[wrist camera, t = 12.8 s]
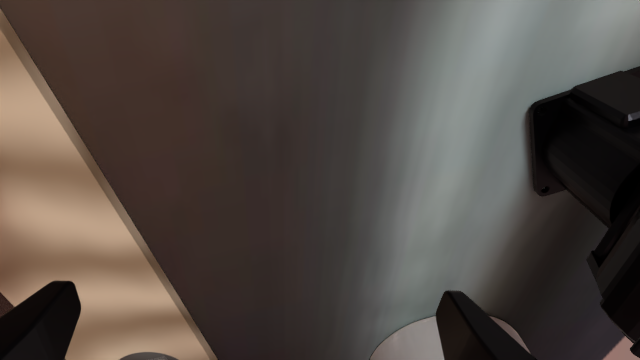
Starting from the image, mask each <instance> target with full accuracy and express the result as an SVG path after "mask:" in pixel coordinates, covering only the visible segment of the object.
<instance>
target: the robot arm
mask: <svg viewBox="0 0 640 360" xmlns="http://www.w3.org/2000/svg"><path fill="white" fill-rule="evenodd" d="M542 107H543V109H542V111H541V112H539V113H538V110H539V109H540V108H542ZM529 118H530V134H531V151H532V168H533V184H534V191H535V192H536V193H537V194H538V195H539V196H547V195H550V194H553V193H557V192H560V191H563V190H567V191H568V192H569V193H571V194H572V195H573V196H574V197H575V198H576V199H577V200H578V201H579V202H580V203H581V204H583V205H584V206H585V207H586V208H587V209H588V210H589V211H590V212H591V213H592V214H594V215H595V216H596V217H597V218H598V219H599V220H600V221H601V222H602V223H603V224H604V225H606V226H607V227H608V228H609V229H608V231H607V232H606V234H605V235H604V237H603V238H602V240H601V242H600V243H599V245H598V246H597V248H596V249H595V251H591V253H590V254H589V256H588V257H587V259H586V260H587V262H588V265H589V267H590V269H591V271H592V273H593V276H594V278H595V280H596V282H597V285H598V288H599V291H600V294H601V296H602V298H603V299H602V300H601V301H600V305H601V307H602V309H603V311H604V312H605V313H606V314H607V316H608V317H609V318H610V320H611V321H612V322H613V323H614V324H615V325H616V326H617V327H618V328H619V329H620V330H621V331H622V333H623V334H624V335H625V336H626V337H627V338H628V339H629V340H630V341H631V342H632V343H634V344H633V346H632V347H631V348H630V351H631V352H632V353H633V354H634V355H635V356H637V357H639V358H640V66H639V67H636V68H633V69H630V70H627V71H624V72H623V71H618V72H616V73H613V74H610V75H607V76H604V77H601V78H598V79H595V80H592V81H589V82H586V83H583V84H580V85H577V86H575V87H573V88H572V89H571V90H568V91H565V92H562V93H559V94H556V95H554V96H551V97H548V98H545V99H542V100H539V101H537V102H535V103H533V104H532V105H531V107H530V110H529ZM545 186H546V187H545ZM543 187H545V188H544V189H542V188H543ZM80 313H81V303H80V299H79V296H78V293H77V289H76V286H75V284H74V283H73V282H72V281H61V280H55V281H52V282H50V283H48V284H47V285H45V286H44V287H43V288H41V289H40V290H38V291H37V292H35V293H34V294H33V295H31V296H30V297H28V298H27V299H25V300H24V301H22V302H21V303H20V304H18V305H17V306H15V307H14V308H12V309H11V310H10V311H8V312H7V313H5V314H4V315H2V316H1V317H0V360H64V359H65V356H66V354H67V351H68V348H69V345H70V342H71V339H72V336H73V334H74V331H75V328H76V325H77V322H78V319H79V317H80ZM436 322H437V327H438V332H439V337H440V341H441V346H442V351H443V356H444V360H537V359H536V358H535V357H533V356H532V355H531V354H530V353H529V352H528V351H527V350H526V349H525V348H524V347H522V346H521V345H520V344H519V343H518V342H517V341H516V340H515V339H514V338H513V337H511V336H510V335H509V334H508V333H507V332H506V331H505V330H504V329H503V328H502V327H501V326H499V325H498V324H497V323H496V322H495V321H494V320H493V319H492V318H491V317H490V316H488V315H487V314H486V313H485V312H484V311H483V310H482V309H481V308H480V307H479V306H477V305H476V304H475V303H474V302H473V301H472V300H471V299H470V298H469V297H468V296H466V295H465V294H464V293H463V292H461V291H445V292H444V294H443V296H442V298H441V301H440V303H439V306H438V308H437V311H436Z"/></svg>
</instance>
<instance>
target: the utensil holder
mask: <svg viewBox="0 0 640 360" xmlns="http://www.w3.org/2000/svg"><path fill="white" fill-rule="evenodd" d="M490 317H491V316H490ZM491 318H492V319H493V320H494V321H495V322H496V323H497V324H498V325H499V326H501V327H502V328H503V329H504V330H505V331H506V332H507V333H508V334H509V335H510V336H511V337H513V338H514V339H515V340H516V341H517V342H518V343H519V344H520V345H521V346H522V347H524V348H525V349H526V350H527V351H528V352H529V350H528V349H527V347H526V345H525V344H524V342H523V341H522V339H521V337H520V336H519V334H518V333H517V332H516V331H515V330H514V329H513V328H512V327H511V326H510V325H508V324H507V323H505V322H504V321H502V320H500V319H497V318H495V317H491ZM529 353H530V352H529ZM530 354H531V353H530ZM370 360H444V356H443V351H442V346H441V341H440V337H439V332H438V327H437V322H436V316H434V317H430V318H426V319H422V320H420V321H417V322H414V323H412V324H409V325H407V326H405V327H403V328H401V329H400V330H398V331H396V332H395V333H393V334H392V335H390V336H389V337H388V338H387V339H385V340H384V341H383V342H382V343H381V344H380V345H379V346H378V347H377V348H376V350H375V351H374V353H373V354H372V356H371V358H370Z"/></svg>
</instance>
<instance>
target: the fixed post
mask: <svg viewBox="0 0 640 360" xmlns="http://www.w3.org/2000/svg"><path fill="white" fill-rule="evenodd" d="M149 360H167V358H166V357H165V356H164V357H159V358H154V359H149Z"/></svg>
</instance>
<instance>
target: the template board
mask: <svg viewBox="0 0 640 360" xmlns="http://www.w3.org/2000/svg"><path fill="white" fill-rule="evenodd" d="M55 280H61V281H72V282H73V283H74V284H75V286H76V289H77V293H78V296H79V299H80V303H81V313H80V317H79V319H78V322H77V325H76V328H75V331H74V334H73V336H72V339H71V342H70V345H69V348H68V351H67V354H66V356H65V359H66V360H149V359H154V358H159V357H164V356H165V357H166V358H167V360H218V359H217V358H216V356H215V354H214V353H213V351H212V350H211V348H210V346H209V345H208V343H207V342H206V340H205V338H204V337H203V335H202V333H201V332H200V330H199V329H198V327H197V325H196V324H195V322H194V321H193V319H192V317H191V316H190V314H189V312H188V311H187V309H186V308H185V306H184V304H183V303H182V301H181V299H180V298H179V296H178V295H177V293H176V291H175V290H174V288H173V287H172V285H171V283H170V282H169V280H168V278H167V277H166V275H165V274H164V272H163V270H162V269H161V267H160V266H159V264H158V262H157V261H156V259H155V257H154V256H153V254H152V253H151V251H150V249H149V248H148V246H147V244H146V243H145V241H144V240H143V238H142V236H141V235H140V233H139V232H138V230H137V228H136V227H135V225H134V223H133V222H132V220H131V219H130V217H129V215H128V214H127V212H126V211H125V209H124V207H123V206H122V204H121V202H120V201H119V199H118V198H117V196H116V194H115V193H114V191H113V189H112V188H111V186H110V185H109V183H108V181H107V180H106V178H105V177H104V175H103V173H102V172H101V170H100V168H99V167H98V165H97V164H96V162H95V160H94V159H93V157H92V156H91V154H90V152H89V151H88V149H87V147H86V146H85V144H84V143H83V141H82V139H81V138H80V136H79V135H78V133H77V131H76V130H75V128H74V126H73V125H72V123H71V122H70V120H69V118H68V117H67V115H66V113H65V112H64V110H63V109H62V107H61V105H60V104H59V102H58V101H57V99H56V97H55V96H54V94H53V92H52V91H51V89H50V88H49V86H48V84H47V83H46V81H45V80H44V78H43V76H42V75H41V73H40V71H39V70H38V68H37V67H36V65H35V63H34V62H33V60H32V58H31V57H30V55H29V54H28V52H27V50H26V49H25V47H24V46H23V44H22V42H21V41H20V39H19V37H18V36H17V34H16V33H15V31H14V29H13V28H12V26H11V25H10V23H9V21H8V20H7V18H6V16H5V15H4V13H3V12H2V10H1V8H0V292H1V293H2V294H3V295H4V296H5V297H6V298H7V299H8V300H9V301H10V302H11V304H12V305H13V306H14V307H15V306H17V305H18V304H20V303H21V302H22V301H24V300H25V299H27V298H28V297H30V296H31V295H33V294H34V293H35V292H37V291H38V290H40V289H41V288H43V287H44V286H45V285H47V284H48V283H50V282H52V281H55Z"/></svg>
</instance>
